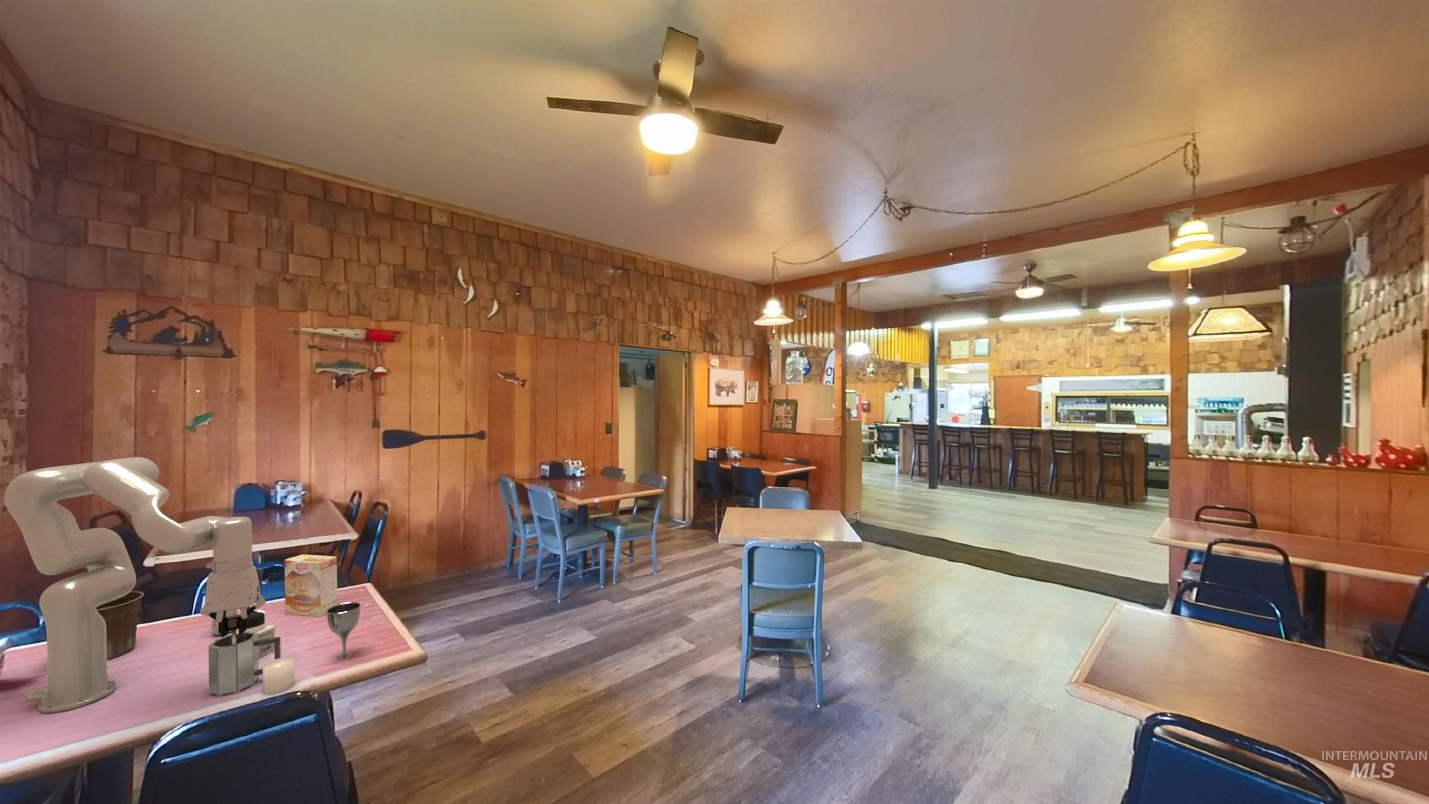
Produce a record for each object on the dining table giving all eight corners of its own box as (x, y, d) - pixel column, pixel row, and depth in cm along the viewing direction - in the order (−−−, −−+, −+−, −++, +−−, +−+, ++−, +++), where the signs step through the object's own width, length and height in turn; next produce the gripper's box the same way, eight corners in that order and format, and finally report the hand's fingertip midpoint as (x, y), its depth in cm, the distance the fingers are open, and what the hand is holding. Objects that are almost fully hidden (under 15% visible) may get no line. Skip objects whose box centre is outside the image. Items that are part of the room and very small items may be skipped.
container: (247, 663, 148) (247, 619, 148) (226, 661, 150) (226, 617, 149) (275, 650, 156) (275, 608, 155) (255, 648, 157) (254, 606, 157)
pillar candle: (257, 698, 131) (258, 671, 131) (269, 685, 137) (269, 659, 137) (288, 693, 133) (288, 666, 133) (298, 680, 139) (298, 655, 139)
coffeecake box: (284, 614, 182) (283, 559, 181) (303, 606, 189) (302, 553, 188) (320, 617, 179) (319, 562, 179) (338, 608, 186) (337, 555, 186)
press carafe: (203, 702, 129) (202, 651, 129) (218, 683, 138) (217, 636, 138) (274, 687, 136) (274, 639, 136) (285, 670, 144) (284, 625, 144)
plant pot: (77, 673, 143) (76, 616, 143) (47, 663, 148) (46, 608, 148) (156, 646, 158) (155, 594, 158) (126, 638, 164) (126, 588, 163)
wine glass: (363, 657, 152) (363, 607, 151) (330, 667, 146) (330, 615, 146) (357, 648, 157) (356, 599, 157) (325, 658, 151) (324, 607, 151)
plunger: (214, 686, 132) (213, 623, 131) (224, 675, 137) (223, 614, 137) (245, 680, 134) (244, 619, 134) (253, 670, 140) (252, 610, 139)
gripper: (184, 574, 128) (185, 646, 128) (268, 564, 136) (268, 633, 136) (197, 565, 135) (198, 634, 135) (276, 556, 142) (277, 621, 143)
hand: (233, 632), depth 135 cm, fingers closed on plunger, 3 cm apart
